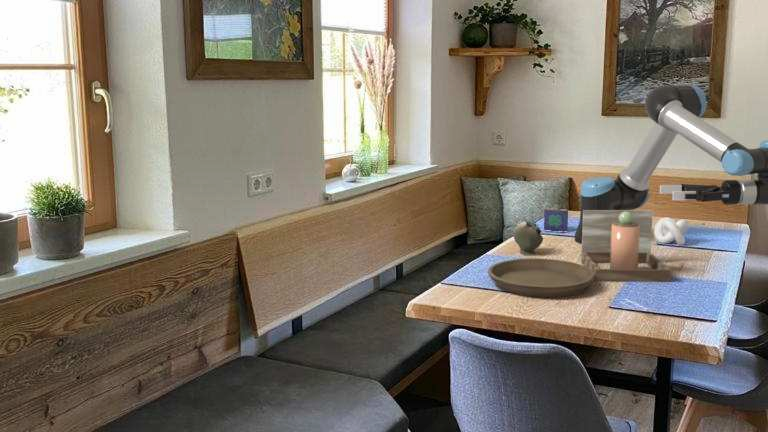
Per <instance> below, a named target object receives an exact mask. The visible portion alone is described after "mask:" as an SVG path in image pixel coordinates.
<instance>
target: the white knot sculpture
mask: <svg viewBox="0 0 768 432" xmlns="http://www.w3.org/2000/svg"><path fill="white" fill-rule="evenodd" d="M688 227H689V221H688V220H686V219H684V218H683V219H679V220H678V221H677V222H676V221H675V220H674V219H673V218H672V217H666V216H665V217H661V218H660V219H659V220H657V222H656V223H655V225H654V230H653V236H654V239H655V241H657V242H658V243H660V244H662V245H666V244H668V243H671V242H676V243H677V245H680V246H682V245H684V244H685V242H686V238H685V237H684V235H685V233H686V231H687V230H688Z"/></svg>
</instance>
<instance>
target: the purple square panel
mask: <svg viewBox="0 0 768 432" xmlns="http://www.w3.org/2000/svg"><path fill="white" fill-rule="evenodd" d="M568 216H569V210H568V209H566V208H564V209H560V208H559V204H554V207H550V206H549V207H548V208H545V209H544V215H543V217H544V219H543V231H544V230H551V231H567V232H568V231H569V229H568V228H569V227H568V226H569V225H568V224H569V220H568V218H569V217H568Z"/></svg>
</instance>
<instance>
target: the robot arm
mask: <svg viewBox="0 0 768 432" xmlns="http://www.w3.org/2000/svg"><path fill="white" fill-rule="evenodd" d="M707 103H708V101H707V97H706V94H705V92H704V91H703V89H701V87H699V86H697V85H694V84H693V85H691V84H687V83H686V84H682V85H681V84H680V85H673V84H671V85H666V84H665V85H659V86H656V87H654V88H653V89H652V90H650V92H648V94H647V96H646V97H645V100H644V109H645V113H646V115H647V116H648V118H650V119H651V120H652V121H653V122H654V123H653V125H652V127H651V128H650V130H649V132H648V133H647V135H646V137H645V138H644V140H643V142H642V143H641V145H640V147H639V148H638V150H637V152H636V153H635V155H634V157H633V158H632V160H631V161H630V163H629V165H628V167H627V168H625V169H622V170H620V172H619V173H618V174H617V177H616V178H615V179H614V178H613V177H609V176H599V177H598V176H597V177H590V178H588V179H585V180H584V181H583V182H582V183H581V190H580V211H579V212H580V213H579V214H580V215H579V217H580V218H579V223H578V225H577V227H576V231H575V234H574V241H575V242H576V243H579V244H582V229H583V210H638V209H639V208H642V207H643V206H644V205H645V204H646V203H647V202H648V200H649V198H650V193H649V192H650V183H649V179H650V178H651V176H652V175H653V173H654V172H655V170H657V167H658V166H659V163H660V162H661V160H662V159H663V158H664V156H665V154H666V152H667V151H668V149H669V148H670V146H671V145H672V143H673V142H674V140H675V139H676V137H677V136H678V135H680V136H681V137H683V138H684V139H686V140H687V141H689V143H691V144H693V145H695V146H696V147H697V148H699V149H701V151H703V152H705V153H707V154H708V155H710V156H711V157H713V158H714V159H715V160H717V161H718V162H720V163H721V167H722V168H723V170H724V172H725V174H727V175H730V176H736V177H737V176H738V177H741V176H748V175H755V174H756V175H757V179H726V180H724V181H722V183H721V186H718V185H715V184H710V185H708V184H707V185H706V184H705V185H704V184H691V183H689V184H688V183H681V184H659V194H660V195H672V201H679V202H680V201H682V202H683V201H688V202H689V201H691V202H693V201H697V202H701V203H704V202H705V203H706V202H713V201H714V202H715V201H716V202H717V201H721V202H722V204H724V205H726V206H728V205H729V206H730V205H731V206H732V205H744V206H745V207H748V206H749V205H765V206H767V205H768V140H767V139H766V140H762V141H760V143H759V146H758V147H757V148H748V147H746V146H744V145H742V144H741V143H739V142H738V141H736V140H735V139H734V138H732V137H731V136H728V135H727V134H725V133H724V132H722V131H721V130H719V129H718V128H716V127H715V126H713V125H712V124H710V123H709V122H707V121H705V120H703V119H702V118H701V117H702V116H703V115H704V114H705V113H706V109H707Z"/></svg>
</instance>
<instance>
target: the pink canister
mask: <svg viewBox="0 0 768 432" xmlns="http://www.w3.org/2000/svg"><path fill="white" fill-rule="evenodd" d="M639 234H640V225H639V224H638V223H635V222H633V215H632V214H631V213H630V212H627V211H625V212H622V213H621V214H620V215H619V221H617V222H613V223H612V229H611V252H610V263H609V269H639V263H638V254H639Z"/></svg>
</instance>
